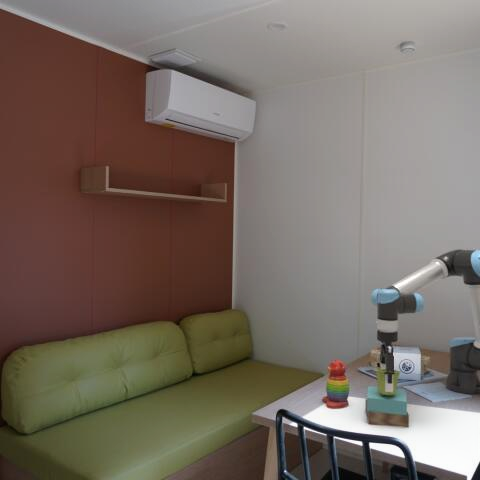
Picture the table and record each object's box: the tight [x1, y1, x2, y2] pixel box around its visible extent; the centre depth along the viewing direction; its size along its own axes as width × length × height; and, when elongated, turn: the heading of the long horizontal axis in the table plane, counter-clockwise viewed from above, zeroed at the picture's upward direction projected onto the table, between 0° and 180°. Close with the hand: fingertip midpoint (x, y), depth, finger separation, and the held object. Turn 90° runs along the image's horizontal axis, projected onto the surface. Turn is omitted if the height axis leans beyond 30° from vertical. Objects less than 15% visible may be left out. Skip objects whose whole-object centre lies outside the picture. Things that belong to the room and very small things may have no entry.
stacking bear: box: [321, 359, 350, 410], centre depth 203 cm, size 11×10×18 cm
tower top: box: [366, 385, 408, 415], centre depth 188 cm, size 14×14×5 cm
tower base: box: [364, 398, 410, 428], centre depth 188 cm, size 14×14×5 cm
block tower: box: [370, 348, 431, 376], centre depth 255 cm, size 8×8×29 cm
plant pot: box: [374, 368, 401, 395], centre depth 186 cm, size 9×9×9 cm
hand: (386, 385), depth 188 cm, fingers open, 13 cm apart
